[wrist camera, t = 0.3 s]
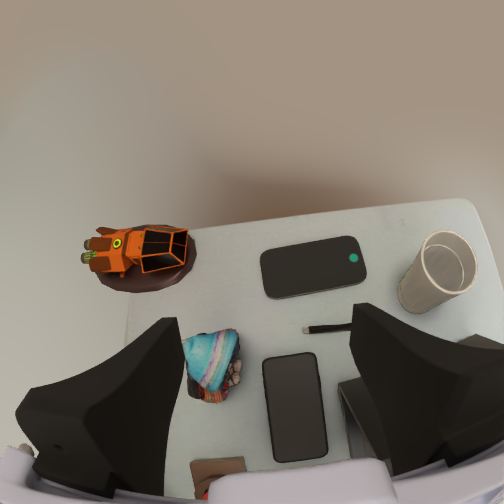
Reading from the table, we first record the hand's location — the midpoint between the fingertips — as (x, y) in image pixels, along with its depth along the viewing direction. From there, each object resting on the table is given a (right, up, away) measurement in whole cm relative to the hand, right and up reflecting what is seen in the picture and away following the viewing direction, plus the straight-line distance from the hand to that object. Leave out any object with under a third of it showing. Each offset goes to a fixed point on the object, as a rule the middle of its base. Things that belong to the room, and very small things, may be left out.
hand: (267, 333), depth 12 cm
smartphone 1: (+8, +1, +32) cm, 33 cm away
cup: (+24, -3, +28) cm, 37 cm away
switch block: (-4, -29, +20) cm, 36 cm away
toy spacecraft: (-19, +2, +37) cm, 42 cm away
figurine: (-4, -13, +28) cm, 31 cm away
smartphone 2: (+5, -17, +24) cm, 30 cm away
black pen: (+12, -7, +28) cm, 31 cm away
